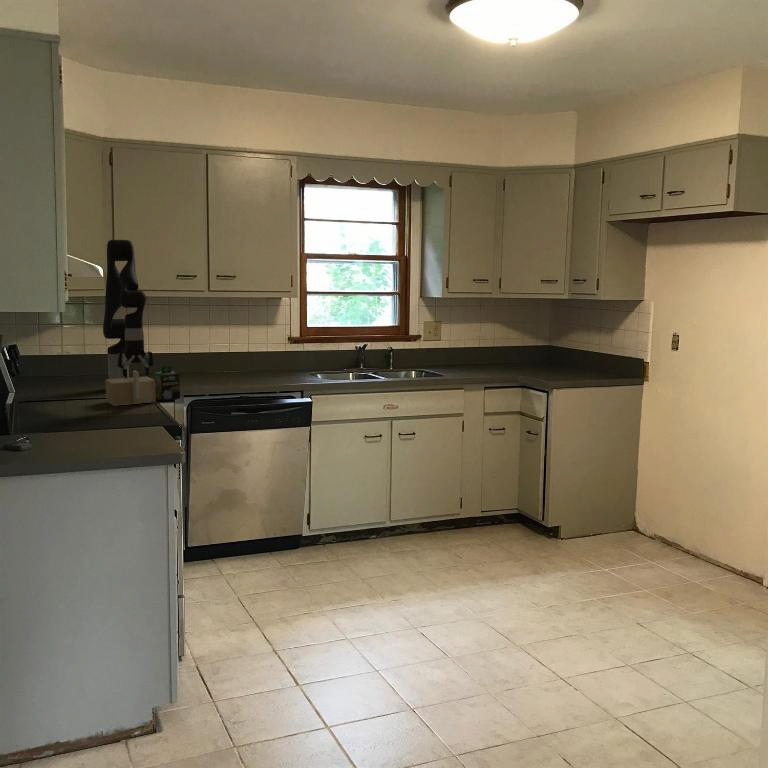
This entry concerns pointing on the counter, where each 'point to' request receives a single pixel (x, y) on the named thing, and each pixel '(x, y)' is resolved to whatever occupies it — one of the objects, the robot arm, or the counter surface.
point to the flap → (141, 389)
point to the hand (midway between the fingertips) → (136, 377)
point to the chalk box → (167, 384)
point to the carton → (124, 389)
